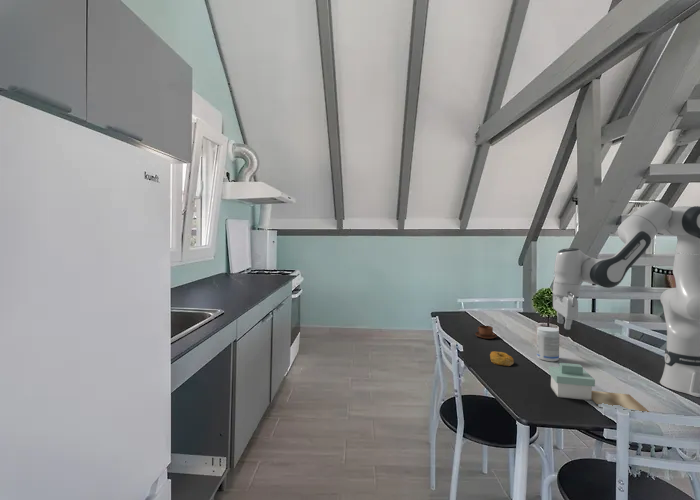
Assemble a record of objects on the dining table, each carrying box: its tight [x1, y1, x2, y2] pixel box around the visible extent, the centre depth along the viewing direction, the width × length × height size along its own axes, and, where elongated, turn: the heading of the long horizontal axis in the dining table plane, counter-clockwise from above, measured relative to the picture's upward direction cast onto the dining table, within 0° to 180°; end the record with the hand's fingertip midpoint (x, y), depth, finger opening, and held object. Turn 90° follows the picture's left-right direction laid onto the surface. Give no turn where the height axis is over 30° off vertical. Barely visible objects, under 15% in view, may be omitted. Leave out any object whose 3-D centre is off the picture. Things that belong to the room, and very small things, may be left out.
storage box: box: [550, 375, 593, 401], centre depth 137 cm, size 11×9×7 cm
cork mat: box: [591, 390, 650, 412], centre depth 131 cm, size 15×14×1 cm
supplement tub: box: [536, 326, 560, 362], centre depth 176 cm, size 10×10×15 cm
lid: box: [548, 362, 596, 388], centre depth 137 cm, size 12×10×6 cm
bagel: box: [489, 350, 515, 367], centre depth 171 cm, size 10×11×5 cm
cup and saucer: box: [475, 325, 498, 340], centre depth 214 cm, size 12×12×6 cm
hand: (563, 326), depth 140 cm, fingers open, 8 cm apart
